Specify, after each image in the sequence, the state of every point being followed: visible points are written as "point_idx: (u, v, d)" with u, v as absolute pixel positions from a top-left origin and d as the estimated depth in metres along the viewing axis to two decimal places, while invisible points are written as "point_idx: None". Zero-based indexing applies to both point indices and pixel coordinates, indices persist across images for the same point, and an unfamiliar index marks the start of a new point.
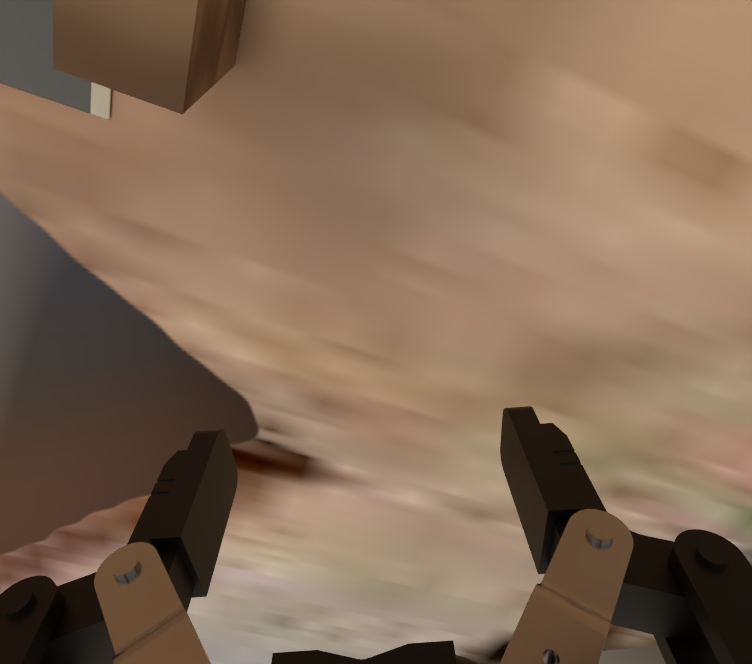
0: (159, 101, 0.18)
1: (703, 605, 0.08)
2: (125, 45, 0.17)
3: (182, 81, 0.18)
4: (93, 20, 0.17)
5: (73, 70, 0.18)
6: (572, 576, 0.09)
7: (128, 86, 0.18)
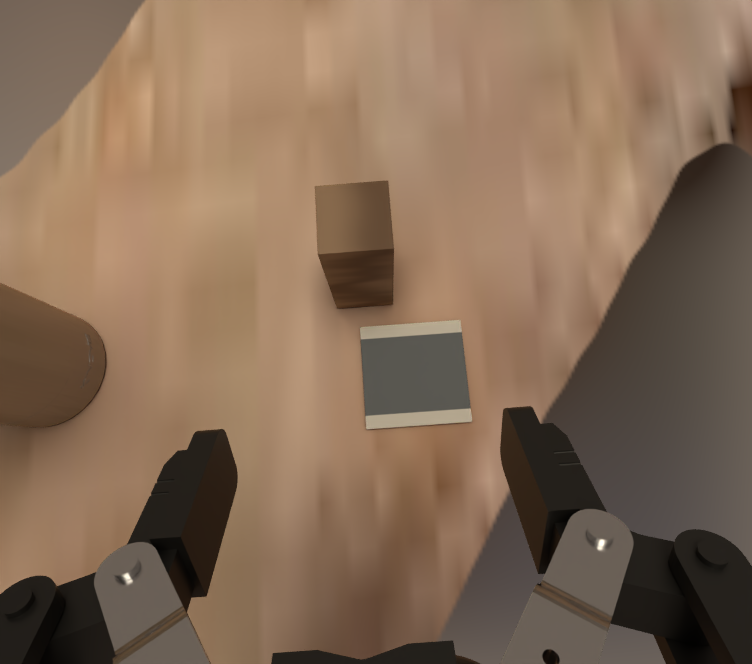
0: (386, 193, 0.30)
1: (703, 605, 0.08)
2: (363, 214, 0.29)
3: (369, 184, 0.30)
4: (358, 231, 0.29)
5: (389, 238, 0.29)
6: (572, 576, 0.09)
7: (385, 210, 0.29)
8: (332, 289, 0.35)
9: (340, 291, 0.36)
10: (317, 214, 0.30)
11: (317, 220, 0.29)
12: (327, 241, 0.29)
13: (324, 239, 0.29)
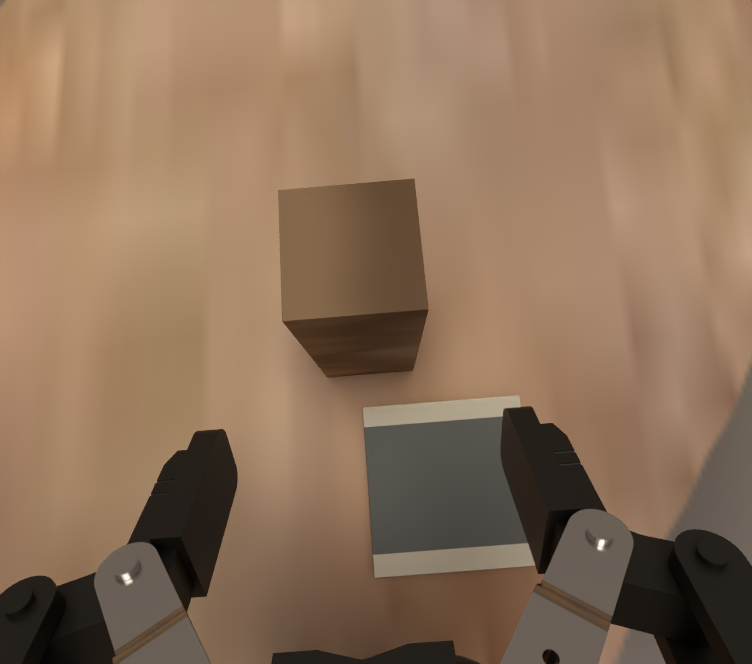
0: (411, 202, 0.16)
1: (703, 605, 0.08)
2: (369, 243, 0.16)
3: (379, 186, 0.16)
4: (359, 275, 0.15)
5: (420, 289, 0.15)
6: (572, 576, 0.09)
7: (410, 234, 0.16)
8: (317, 359, 0.21)
9: (330, 361, 0.22)
10: (282, 243, 0.16)
11: (282, 255, 0.16)
12: (300, 296, 0.15)
13: (296, 291, 0.15)
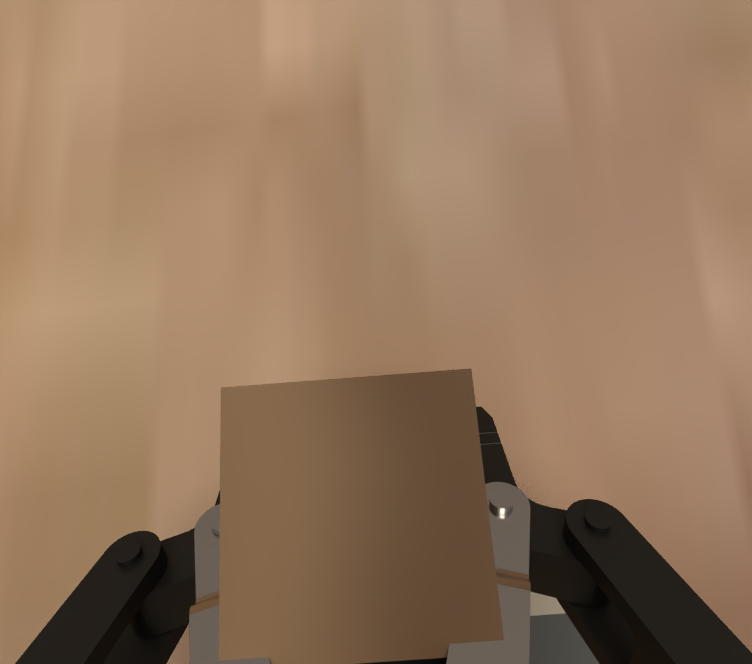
0: (467, 418, 0.09)
1: (602, 571, 0.09)
2: (388, 503, 0.08)
3: (406, 383, 0.09)
4: (369, 573, 0.08)
5: (488, 607, 0.08)
6: None
7: (467, 485, 0.08)
8: None
9: None
10: (223, 499, 0.08)
11: (223, 524, 0.08)
12: (255, 617, 0.08)
13: (247, 605, 0.08)
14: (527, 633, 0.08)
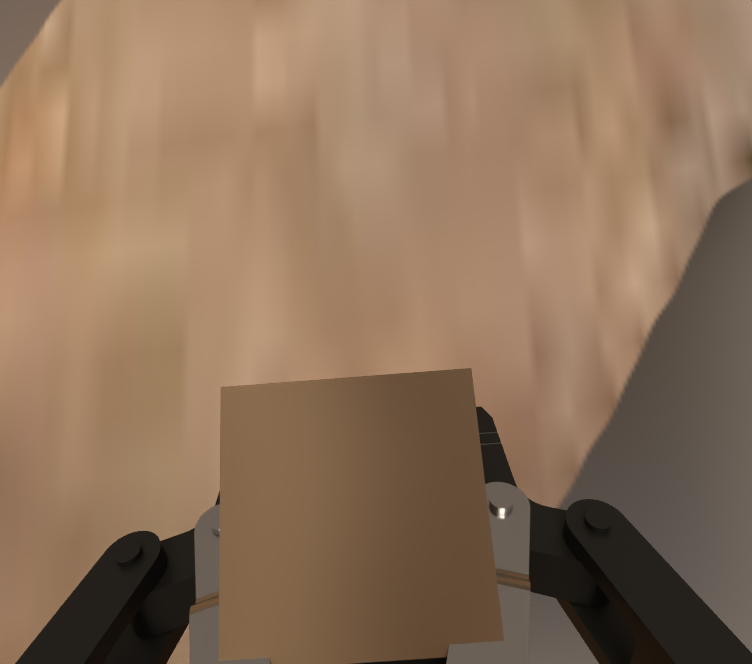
0: (467, 417, 0.09)
1: (602, 571, 0.09)
2: (388, 503, 0.08)
3: (406, 382, 0.09)
4: (369, 572, 0.08)
5: (488, 607, 0.08)
6: None
7: (467, 484, 0.08)
8: None
9: None
10: (223, 498, 0.08)
11: (223, 524, 0.08)
12: (255, 617, 0.08)
13: (247, 605, 0.08)
14: (527, 633, 0.08)
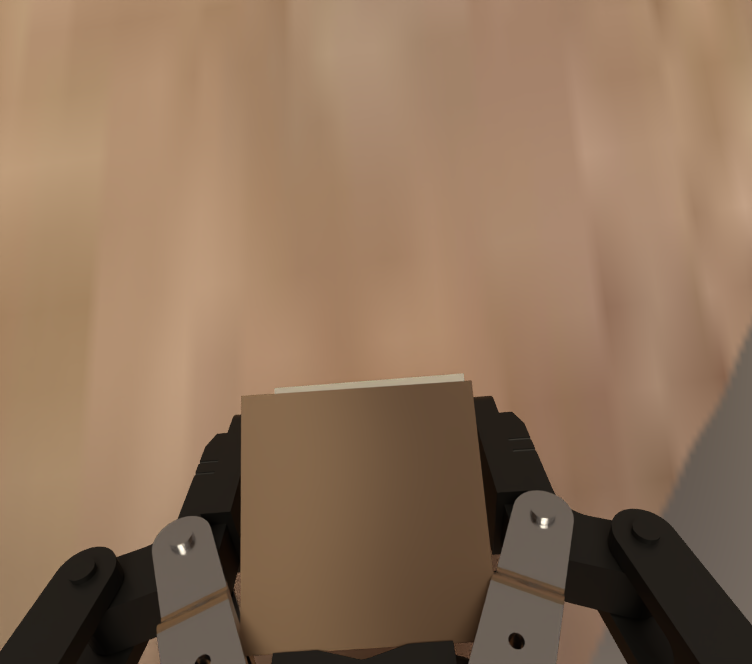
0: (468, 425, 0.09)
1: (644, 582, 0.09)
2: (395, 503, 0.09)
3: (412, 393, 0.09)
4: (377, 566, 0.09)
5: (485, 598, 0.09)
6: (524, 558, 0.09)
7: (466, 487, 0.09)
8: None
9: None
10: (244, 498, 0.09)
11: (244, 521, 0.09)
12: (273, 606, 0.09)
13: (266, 595, 0.09)
14: (555, 647, 0.07)
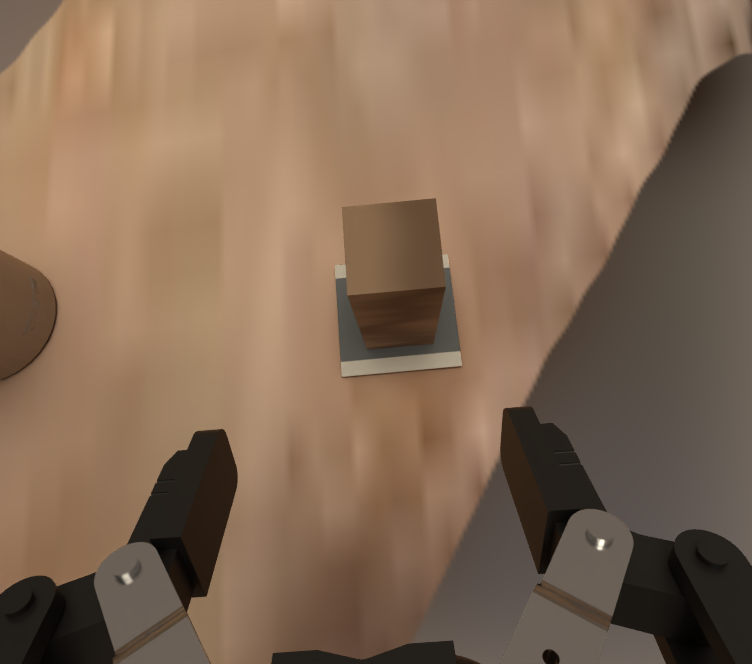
0: (434, 214, 0.23)
1: (703, 605, 0.08)
2: (405, 242, 0.23)
3: (411, 203, 0.23)
4: (398, 264, 0.23)
5: (440, 273, 0.22)
6: (572, 576, 0.09)
7: (433, 236, 0.23)
8: (362, 330, 0.28)
9: (372, 332, 0.29)
10: (345, 243, 0.23)
11: (346, 251, 0.23)
12: (358, 279, 0.23)
13: (356, 275, 0.23)
14: None
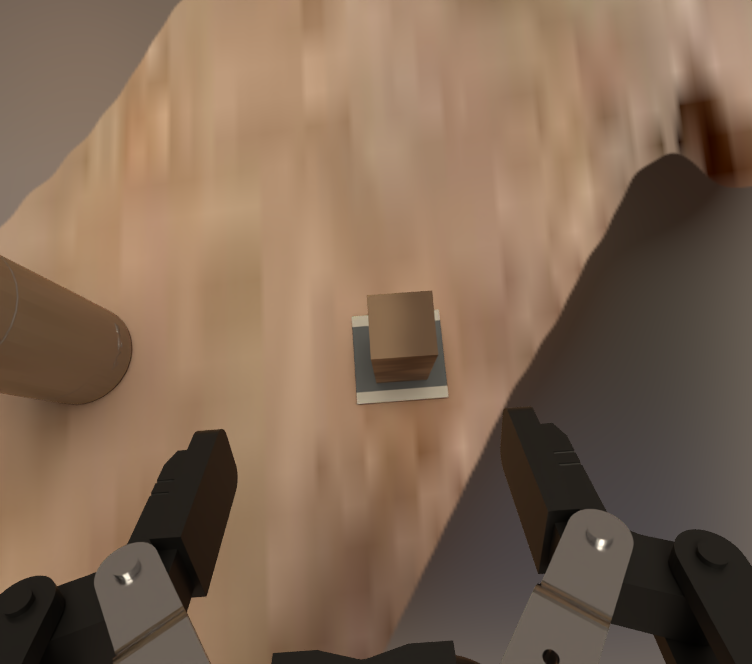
0: (430, 302, 0.33)
1: (703, 605, 0.08)
2: (410, 322, 0.33)
3: (415, 294, 0.34)
4: (406, 338, 0.33)
5: (434, 345, 0.33)
6: (572, 576, 0.09)
7: (430, 318, 0.33)
8: (376, 374, 0.39)
9: (382, 375, 0.39)
10: (369, 321, 0.33)
11: (369, 327, 0.33)
12: (378, 347, 0.33)
13: (377, 345, 0.33)
14: None
